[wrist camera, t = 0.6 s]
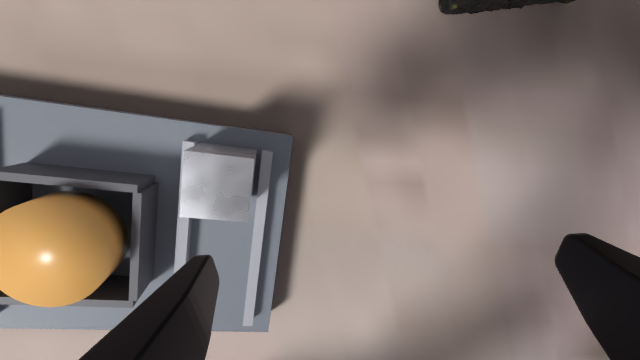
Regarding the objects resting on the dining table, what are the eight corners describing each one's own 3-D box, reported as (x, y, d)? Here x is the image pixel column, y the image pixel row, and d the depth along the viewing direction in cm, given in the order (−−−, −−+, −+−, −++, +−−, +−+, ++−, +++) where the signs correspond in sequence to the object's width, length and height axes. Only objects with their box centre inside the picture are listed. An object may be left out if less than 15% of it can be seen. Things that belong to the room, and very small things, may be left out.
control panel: (267, 313, 23) (268, 360, 18) (-244, 300, 17) (-417, 363, 13) (290, 134, 20) (297, 139, 16) (-294, 53, 15) (-525, 28, 10)
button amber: (126, 286, 17) (108, 308, 15) (17, 282, 16) (-18, 305, 14) (129, 196, 16) (110, 207, 14) (14, 185, 15) (-24, 196, 13)
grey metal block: (251, 199, 18) (247, 222, 14) (198, 194, 18) (179, 216, 14) (256, 149, 18) (254, 159, 14) (202, 142, 17) (183, 150, 13)
